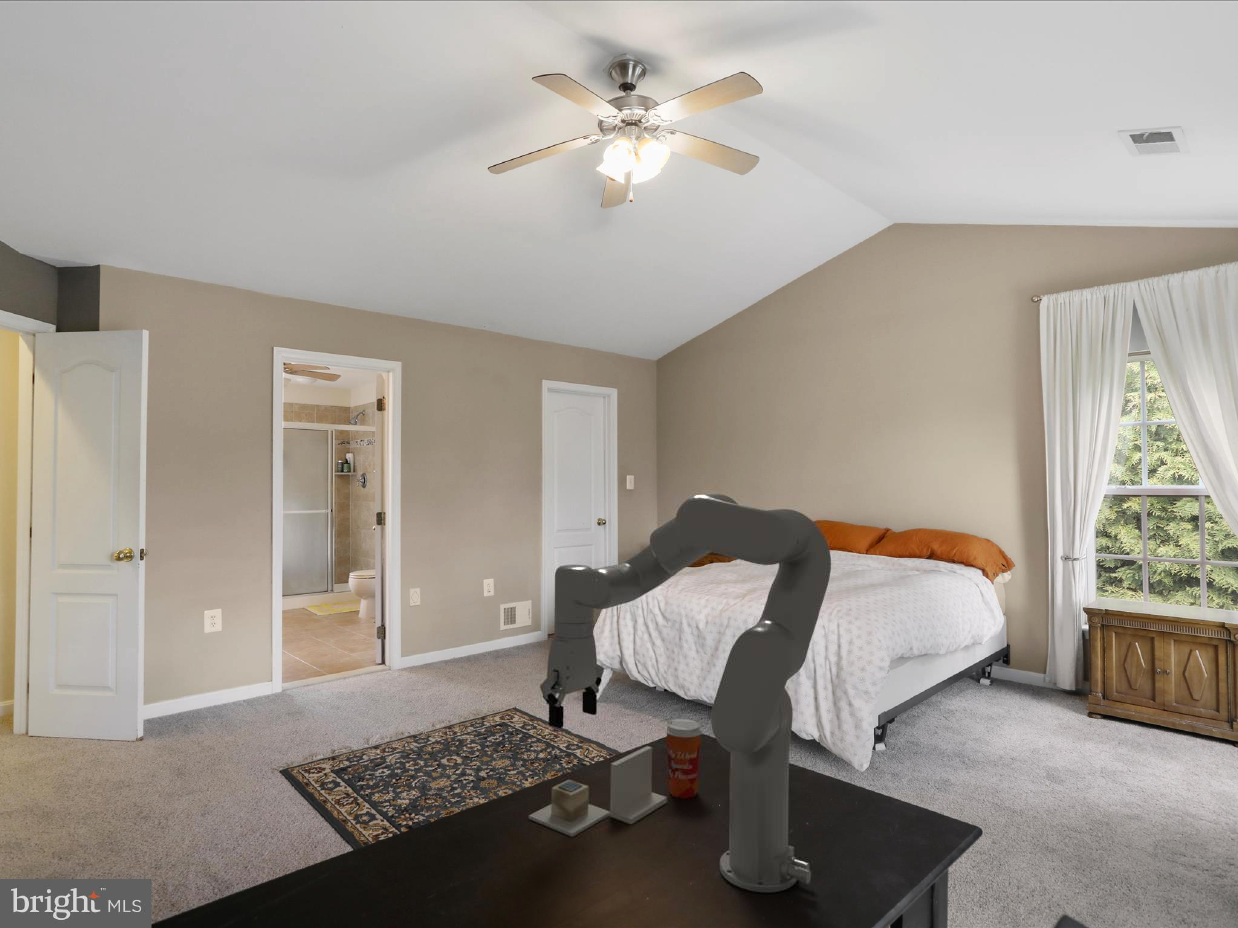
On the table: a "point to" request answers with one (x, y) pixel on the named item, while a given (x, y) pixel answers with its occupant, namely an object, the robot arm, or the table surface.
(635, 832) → the table surface
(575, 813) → the maple cube
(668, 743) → the paper cup
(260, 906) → the table surface
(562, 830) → the felt mat
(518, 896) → the table surface
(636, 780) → the screen
